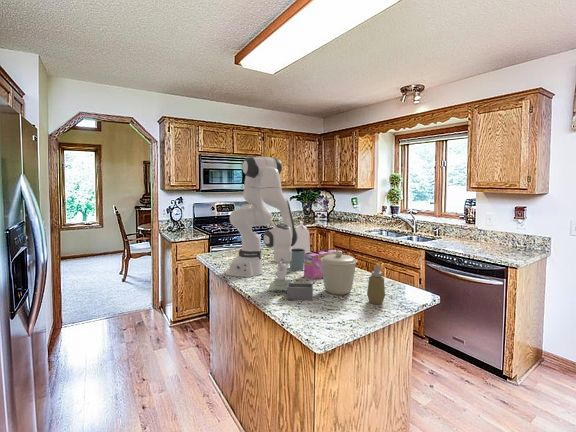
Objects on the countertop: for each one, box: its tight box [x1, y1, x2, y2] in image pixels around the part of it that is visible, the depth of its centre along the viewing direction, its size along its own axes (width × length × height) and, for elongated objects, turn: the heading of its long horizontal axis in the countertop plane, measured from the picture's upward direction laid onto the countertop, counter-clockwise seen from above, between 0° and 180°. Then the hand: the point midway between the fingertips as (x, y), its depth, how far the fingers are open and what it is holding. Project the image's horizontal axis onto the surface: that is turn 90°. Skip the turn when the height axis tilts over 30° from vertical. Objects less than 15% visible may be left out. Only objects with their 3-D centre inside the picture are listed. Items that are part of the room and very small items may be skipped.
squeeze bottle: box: [366, 263, 386, 305], centre depth 154 cm, size 8×8×18 cm
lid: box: [268, 277, 293, 291], centre depth 169 cm, size 13×8×5 cm, turn 87°
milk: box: [291, 220, 311, 253], centre depth 240 cm, size 12×12×26 cm
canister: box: [321, 249, 358, 296], centre depth 168 cm, size 18×18×21 cm
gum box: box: [303, 248, 341, 280], centre depth 200 cm, size 24×8×14 cm, turn 127°
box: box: [286, 282, 314, 301], centre depth 160 cm, size 12×7×6 cm, turn 87°
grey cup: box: [289, 248, 305, 271], centre depth 212 cm, size 10×10×12 cm
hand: (282, 283), depth 169 cm, fingers closed on lid, 3 cm apart
